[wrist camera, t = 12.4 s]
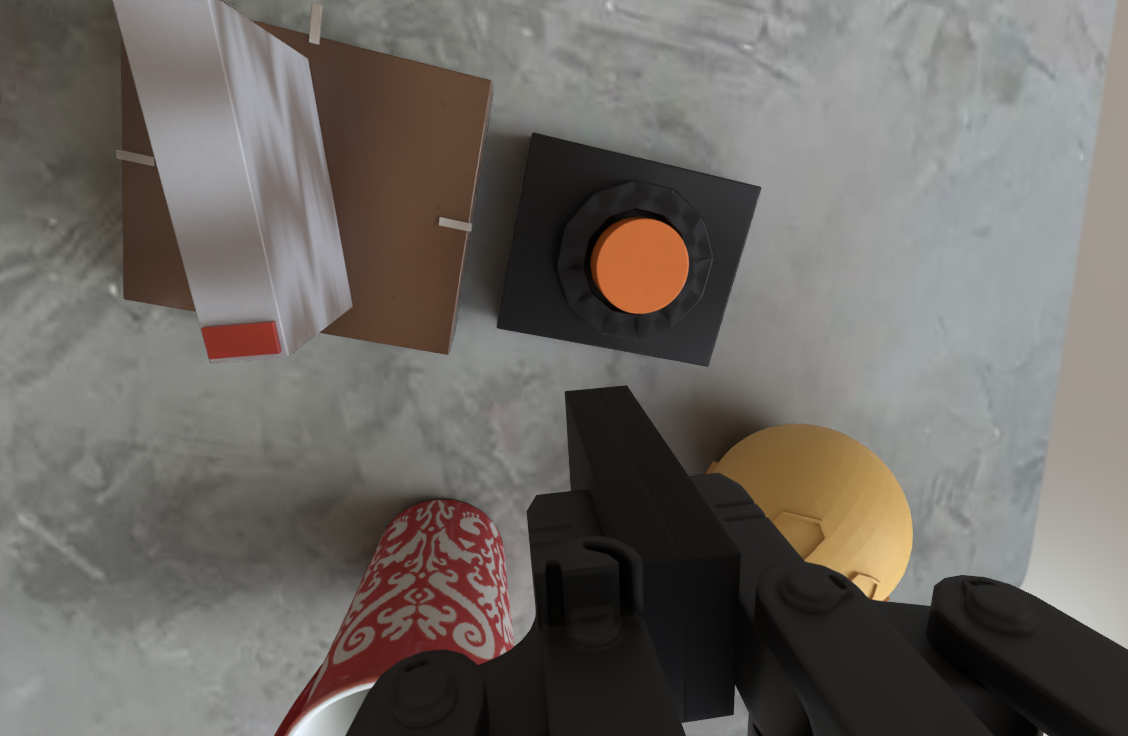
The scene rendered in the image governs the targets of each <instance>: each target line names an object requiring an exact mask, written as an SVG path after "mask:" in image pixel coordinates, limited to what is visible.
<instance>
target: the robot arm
mask: <svg viewBox="0 0 1128 736" xmlns="http://www.w3.org/2000/svg"><path fill="white" fill-rule="evenodd" d="M565 402H566V419H567V435H568V451H569V467H570V483H571V491H568V492H559V493H551V494H542V495H536V497H535V498H534V500H533V502H532V503H531V505H530V507H529V508H528V510H527V520H528V531H529V542H530V553H531V564H532V575H533V586H534V596H535V606H536V617H535V620H534V622H533V625H532V627H531V629H530V631H529V632H528V633H527V635H526V636H525V637H524V638H523V640H522V641H520V642H519V643H518V644H517V645H516V646H514V647H513V648H512V649H511V650H509V651H507V652H505V653H503V654H502V655H500V656H498V657H496V658H494V659H491V660H489V661H486V662H484V663H482V664H479V665H478V664H477V663H475V662H474V661H473V660H471V659H470V658H469V657H467V656H466V655H464V654H463V653H459V652H454V651H450V650H446V649H441V650H431V651H422V652H420V653H417V654H415V655H412V656H410V657H407V658H405V659H402V660H400V661H399V662H398V663H396V664H395V665H393V666H392V667H391V668H389V669H388V670H387V671H385V672H384V673H383V674H381V676H380V677H379V678H378V680H377V681H376V682H375V684H374V685H373V686H372V688H371V689H370V690H369V692H368V693H367V695H366V697H365V699H364V701H363V703H362V705H361V706H360V708H359V710H358V712H357V714H356V716H355V718H354V720H353V722H352V724H351V726H350V727H349V729H348V731H347V733H346V735H345V736H686V735H685V732H684V729H683V726H682V724H681V723H684V722H691V721H697V720H704V719H710V718H717V717H723V716H730V715H734V695H735V685H736V687H737V689H738V691H739V693H740V695H741V697H742V699H743V702H744V704H745V706H746V708H747V710H748V712H749V719H748V736H1043V733H1046V734H1047V735H1048V736H1128V649H1126V648H1124V647H1122V646H1121V645H1119V644H1117V643H1115V642H1114V641H1112V640H1110V639H1109V638H1107V637H1105V636H1103V635H1101V634H1100V633H1098V632H1096V631H1094V630H1093V629H1091V628H1089V627H1088V626H1086V625H1084V624H1082V623H1081V622H1079V621H1077V620H1076V619H1074V618H1072V617H1070V616H1068V615H1067V614H1065V613H1063V612H1062V611H1060V610H1058V609H1056V608H1055V607H1053V606H1051V605H1050V604H1048V603H1046V602H1044V601H1043V600H1041V599H1039V598H1037V597H1036V596H1034V595H1032V594H1029V593H1027V592H1025V591H1023V590H1021V589H1019V588H1017V587H1015V586H1012V585H1010V584H1007V583H1004V582H1000V581H996V580H993V579H990V578H986V577H977V576H966V575H960V576H954V577H948V578H944V579H943V580H942V581H940V582H939V583H937V584H936V585H935V586H934V590H933V596H932V602H931V606H924V605H915V604H905V603H896V602H886V601H879V600H873V599H869V598H868V597H867V596H866V595H865V594H864V593H863V592H862V590H861V589H860V588H859V587H858V586H857V585H855V584H854V583H853V582H852V581H850V580H849V579H848V578H847V577H845V576H844V575H843V574H841V573H839V572H836V571H834V570H832V569H830V568H828V567H826V566H823V565H818V564H814V563H810V562H805V561H804V560H803V558H802V557H801V556H800V555H799V554H798V552H797V551H796V550H795V549H794V548H793V547H792V545H791V544H790V543H789V542H788V541H787V539H786V538H785V537H784V536H783V535H782V533H781V532H780V531H779V530H778V529H777V527H776V526H775V525H774V524H773V523H772V521H771V520H770V519H769V518H768V517H765V513H764V512H763V511H762V509H761V508H760V507H759V506H758V505H757V504H755V503H754V500H753V499H752V498H751V496H750V495H749V494H748V493H747V492H746V490H745V489H744V488H743V487H742V486H741V485H740V484H739V483H737V482H735V481H733V480H731V479H730V478H728V477H726V476H724V475H723V474H721V473H711V474H702V475H693V476H688V475H687V473H686V472H685V470H684V469H683V467H682V466H681V464H680V463H679V461H678V460H677V459H676V457H675V456H674V454H673V453H672V451H671V450H670V448H669V447H668V445H667V444H666V442H665V441H664V439H663V438H662V436H661V435H660V433H659V432H658V431H657V429H656V428H655V426H654V425H653V423H652V422H651V420H650V419H649V417H648V416H647V414H646V413H645V411H644V410H643V408H642V407H641V405H640V404H639V403H638V401H637V400H636V398H635V397H634V395H633V394H632V392H631V391H630V389H629V388H628V386H627V385H626V386H616V387H606V388H595V389H585V390H574V391H565Z"/></svg>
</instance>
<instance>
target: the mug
mask: <svg viewBox="0 0 1128 736" xmlns="http://www.w3.org/2000/svg"><path fill="white" fill-rule="evenodd" d="M513 647H514V642H513V633H512V620H511V613H510V603H509V594H508V584H507V576H506V564H505V554H504V547H503V542H502V539H501V536H500V533H499V531H498V529H497V528H496V526H495V524H494V523H493V522H492V521H491V519H490V518H489V517H488V516H487V515H486V514H484V513H483V512H482V511H480V510H479V509H477V508H475V507H473V506H471V505H469V504H466V503H463V502H459V501H456V500H450V499H449V500H430V501H426V502H422V503H419V504H417V505H414V506H412V507H410V508H408V509H406V510H404V511H403V512H402V513H400V514H399V515H398V516H397V517H396V518H394V520H393V521H392V522H391V523H390V524H389V525H388V527H387V528H386V530H385V531H384V533H383V535H382V537H381V539H380V541H379V543H378V545H377V547H376V550H375V552H374V555H373V557H372V559H371V561H370V563H369V565H368V568H367V570H366V572H365V574H364V576H363V579H362V581H361V583H360V585H359V587H358V589H357V592H356V594H355V596H354V599H353V601H352V603H351V605H350V608H349V610H348V612H347V614H346V616H345V618H344V620H343V623H342V625H341V627H340V629H339V632H338V634H337V635H336V637H335V639H334V641H333V643H332V645H331V648H330V650H329V652H328V655H327V657H326V658H325V660H324V662H323V664H322V665H321V666H320V668H319V669H318V670H317V672H316V673H315V674H314V676H313V677H312V679H311V680H310V681H309V683H308V684H307V686H306V687H305V688H304V690H303V691H302V693H301V694H300V695H299V697H298V698H297V700H296V701H295V702H294V704H293V706H292V707H291V709H290V710H289V712H288V714H287V715H286V717H285V718H284V720H283V721H282V723H281V725H280V726H279V728H278V730H277V732H276V733H275V735H274V736H345V735H346V733H347V731H348V729H349V727H350V726H351V724H352V722H353V720H354V718H355V716H356V714H357V712H358V710H359V708H360V706H361V705H362V703H363V701H364V699H365V697H366V695H367V693H368V692H369V690H370V689H371V688H372V686H373V685H374V684H375V682H376V681H377V680H378V678H379V677H380V676H381V674H383V673H384V672H385V671H387V670H388V669H389V668H391V667H392V666H393V665H395V664H396V663H398V662H399V661H400V660H402V659H405V658H407V657H410V656H412V655H415V654H417V653H420V652H422V651H431V650H441V649H446V650H450V651H454V652H459V653H463V654H464V655H466V656H467V657H469V658H470V659H471V660H473V661H474V662H475V663H477V664H478V665H479V664H482V663H484V662H486V661H489V660H491V659H494V658H496V657H498V656H500V655H502V654H503V653H505V652H507V651H509V650H511V649H512V648H513Z"/></svg>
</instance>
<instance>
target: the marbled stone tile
mask: <svg viewBox="0 0 1128 736" xmlns="http://www.w3.org/2000/svg"><path fill="white" fill-rule="evenodd" d="M112 1H113V5H114V8H115V12H116V16H117V20H118V23H119V27H120V31H121V35H122V38H123V42H124V46H125V49H126V53H127V57H128V61H129V64H130V68H131V72H132V75H133V79H134V83H135V87H136V90H137V94H138V98H139V101H140V105H141V109H142V113H143V116H144V120H145V124H146V127H147V131H148V135H149V139H150V142H151V146H152V150H153V153H154V157H155V161H156V165H157V168H158V172H159V176H160V179H161V183H162V187H163V191H164V194H165V198H166V202H167V205H168V209H169V213H170V217H171V220H172V224H173V228H174V232H175V235H176V239H177V243H178V246H179V250H180V254H181V258H182V261H183V265H184V269H185V272H186V276H187V280H188V284H189V287H190V291H191V295H192V298H193V302H194V306H195V310H196V313H197V317H198V321H199V324H200V328H201V332H202V336H203V339H204V343H205V347H206V350H207V354H208V358H209V362H210V363H223V362H235V361H246V360H258V359H270V358H282V357H288V356H290V355H291V354H292V353H294V352H295V351H296V350H298V349H299V348H300V347H301V346H303V345H304V344H305V343H307V342H308V341H309V340H310V339H312V338H313V337H314V336H316V335H317V334H318V333H319V332H321V331H322V330H323V329H325V328H326V327H327V326H328V325H330V324H331V323H332V322H334V321H335V320H336V319H337V318H339V317H340V316H341V315H343V314H344V313H345V312H346V311H348V310H349V309H350V308H351V307H352V300H351V294H350V289H349V283H348V278H347V272H346V267H345V261H344V256H343V250H342V245H341V239H340V234H339V228H338V223H337V217H336V211H335V206H334V200H333V195H332V189H331V184H330V178H329V173H328V167H327V162H326V156H325V151H324V145H323V139H322V134H321V128H320V123H319V117H318V112H317V106H316V101H315V95H314V90H313V84H312V79H311V73H310V68H309V62H308V59H307V58H306V57H304V56H303V55H301V54H300V53H298V52H297V51H295V50H294V49H292V48H291V47H289V46H288V45H286V44H285V43H283V42H282V41H280V40H279V39H277V38H276V37H274V36H273V35H271V34H270V33H268V32H267V31H265V30H264V29H262V28H261V27H259V26H258V25H256V24H255V23H253V22H252V21H250V20H249V19H247V18H246V17H244V16H243V15H241V14H240V13H238V12H237V11H235V10H234V9H232V8H231V7H229V6H228V5H226V4H225V3H223V2H222V1H220V0H112Z"/></svg>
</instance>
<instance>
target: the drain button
mask: <svg viewBox="0 0 1128 736" xmlns="http://www.w3.org/2000/svg"><path fill="white" fill-rule="evenodd" d="M590 266H591V273H592V277H593V280H594V282H595V284H596V286H597V288H598V289H599V291H600V292H601V293H602V294H603V295H604V296H605V297H606V298H607V299H608V300H609V301H610V302H611V303H612V304H613V305H614V306H616V307H617V308H619V309H621V310H623V311H626V312H630V313H636V314H644V313H650V312H654V311H657V310H659V309H661V308H663V307H665V306H666V305H668V304H669V303H670V302H671V301H673V300H674V299H675V298H676V296H677V295H678V294H679V293H680V291H681V289H682V288H683V286H684V284H685V281H686V278H687V275H688V269H689V258H688V252H687V249H686V246H685V244H684V242H683V240H682V238H681V237H680V235H679V234H678V233H677V232H676V231H675V230H674V229H673V228H671V227H670V226H668V225H667V224H665V223H663V222H661V221H657V220H654V219H649V218H643V217H629V218H625V219H621V220H619V221H617V222H615V223H613V224H611V225H610V226H609V227H608V228H606V229H605V230H604V231H603V232H602V234H601V235H600V236H599V238H598V239H597V241H596V243H595V245H594V247H593V250H592V254H591V264H590Z"/></svg>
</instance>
